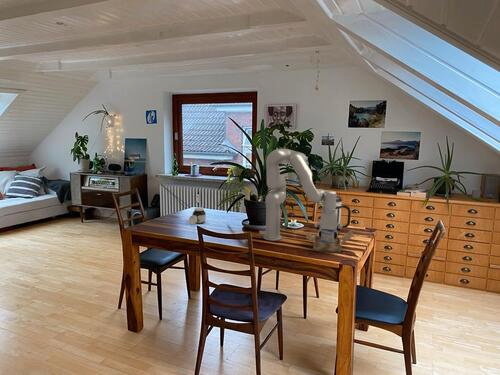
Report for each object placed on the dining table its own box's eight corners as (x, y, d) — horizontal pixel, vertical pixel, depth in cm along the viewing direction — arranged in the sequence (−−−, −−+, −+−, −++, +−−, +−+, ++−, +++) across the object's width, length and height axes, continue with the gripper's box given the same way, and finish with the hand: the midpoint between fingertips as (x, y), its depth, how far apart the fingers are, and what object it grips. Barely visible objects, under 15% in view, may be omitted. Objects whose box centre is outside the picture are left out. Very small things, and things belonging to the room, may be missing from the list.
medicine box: (320, 242, 222) (321, 229, 220) (321, 240, 226) (322, 227, 224) (332, 244, 219) (333, 230, 217) (334, 242, 223) (335, 229, 221)
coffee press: (329, 237, 242) (332, 194, 237) (316, 231, 257) (318, 190, 252) (349, 235, 250) (352, 193, 245) (335, 229, 264) (337, 189, 259)
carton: (304, 252, 213) (305, 241, 212) (307, 240, 236) (307, 230, 235) (341, 255, 209) (342, 244, 208) (339, 242, 232) (340, 232, 231)
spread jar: (206, 221, 276) (206, 207, 274) (203, 225, 265) (203, 210, 263) (191, 221, 277) (191, 206, 275) (187, 225, 266) (187, 209, 264)
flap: (342, 243, 213) (352, 234, 211) (341, 237, 225) (351, 229, 223) (343, 243, 213) (353, 235, 211) (342, 237, 225) (352, 229, 223)
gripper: (314, 211, 216) (313, 238, 219) (344, 213, 213) (342, 240, 216) (315, 208, 224) (313, 235, 226) (343, 210, 220) (341, 237, 223)
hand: (327, 237), depth 221 cm, fingers closed on medicine box, 8 cm apart
